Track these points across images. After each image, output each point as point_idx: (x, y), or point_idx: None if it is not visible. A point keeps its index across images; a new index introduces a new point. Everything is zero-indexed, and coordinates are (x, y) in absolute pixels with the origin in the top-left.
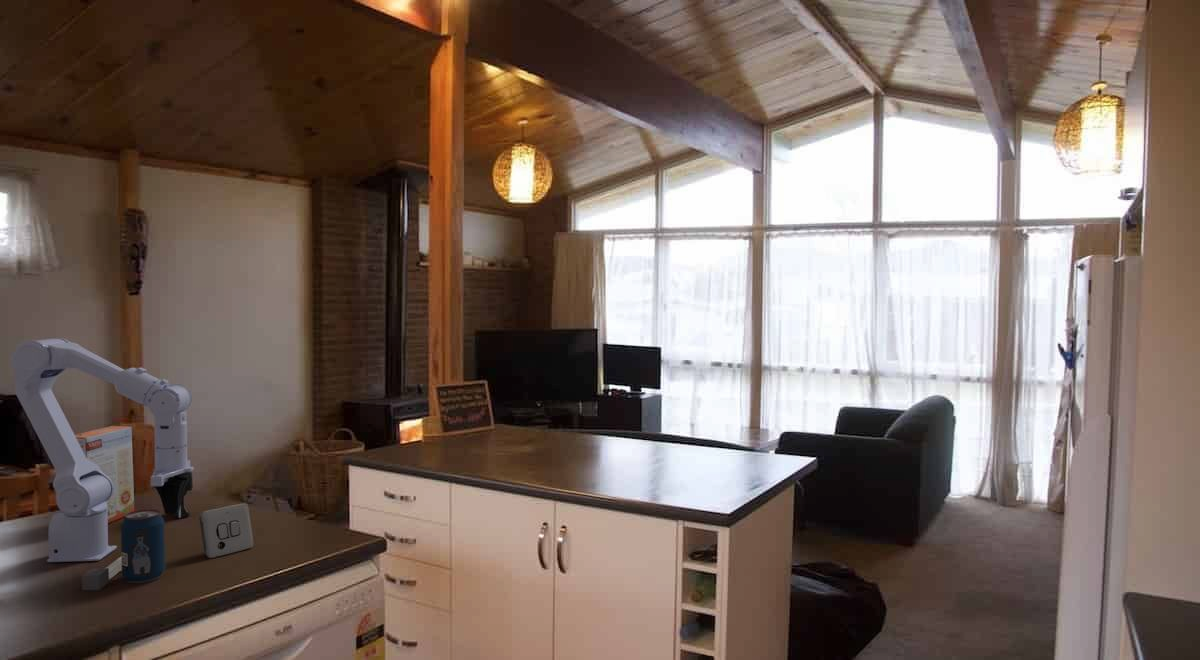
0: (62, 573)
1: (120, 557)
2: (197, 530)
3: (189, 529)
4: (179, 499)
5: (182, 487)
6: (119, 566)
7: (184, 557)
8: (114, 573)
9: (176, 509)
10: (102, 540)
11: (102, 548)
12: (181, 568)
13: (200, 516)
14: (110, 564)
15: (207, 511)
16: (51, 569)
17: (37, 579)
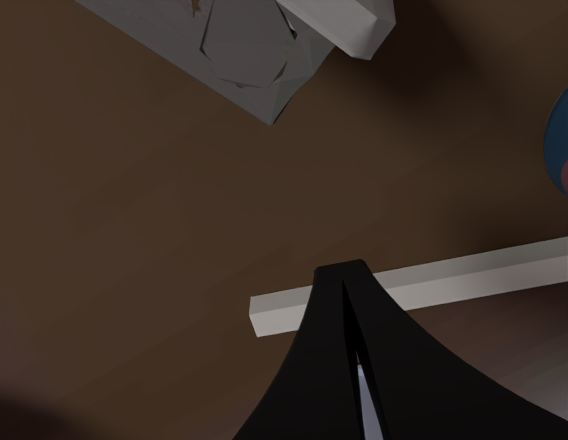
0: (510, 377)
1: (452, 299)
2: (15, 256)
3: (19, 289)
4: (364, 318)
5: (384, 402)
6: (526, 256)
7: (354, 102)
8: (563, 241)
9: (371, 275)
10: (372, 416)
11: (368, 391)
12: (511, 18)
13: (281, 110)
14: (531, 286)
15: (356, 3)
16: None
17: (553, 400)
